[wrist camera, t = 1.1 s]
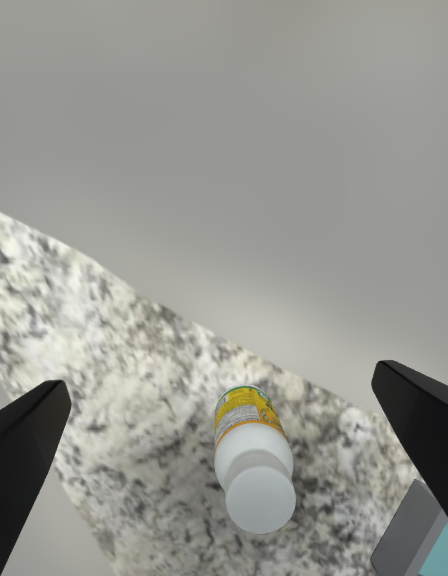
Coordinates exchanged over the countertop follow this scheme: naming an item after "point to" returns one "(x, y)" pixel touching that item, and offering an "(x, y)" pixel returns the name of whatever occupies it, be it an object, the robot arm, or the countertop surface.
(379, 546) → the grey square tray
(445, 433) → the robot arm
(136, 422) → the countertop surface
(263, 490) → the supplement bottle
